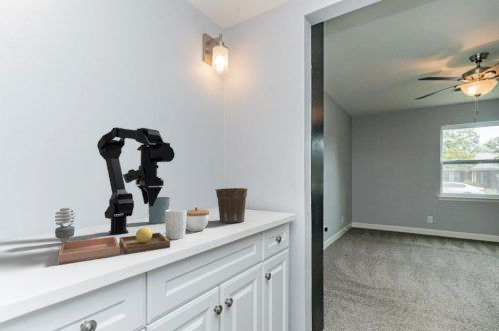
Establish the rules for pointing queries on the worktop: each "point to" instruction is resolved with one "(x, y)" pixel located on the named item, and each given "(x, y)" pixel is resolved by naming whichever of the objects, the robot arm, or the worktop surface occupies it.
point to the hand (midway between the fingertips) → (148, 205)
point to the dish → (88, 250)
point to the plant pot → (231, 204)
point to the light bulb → (65, 231)
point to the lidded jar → (197, 219)
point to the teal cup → (158, 210)
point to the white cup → (175, 223)
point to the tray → (133, 246)
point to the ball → (143, 235)
